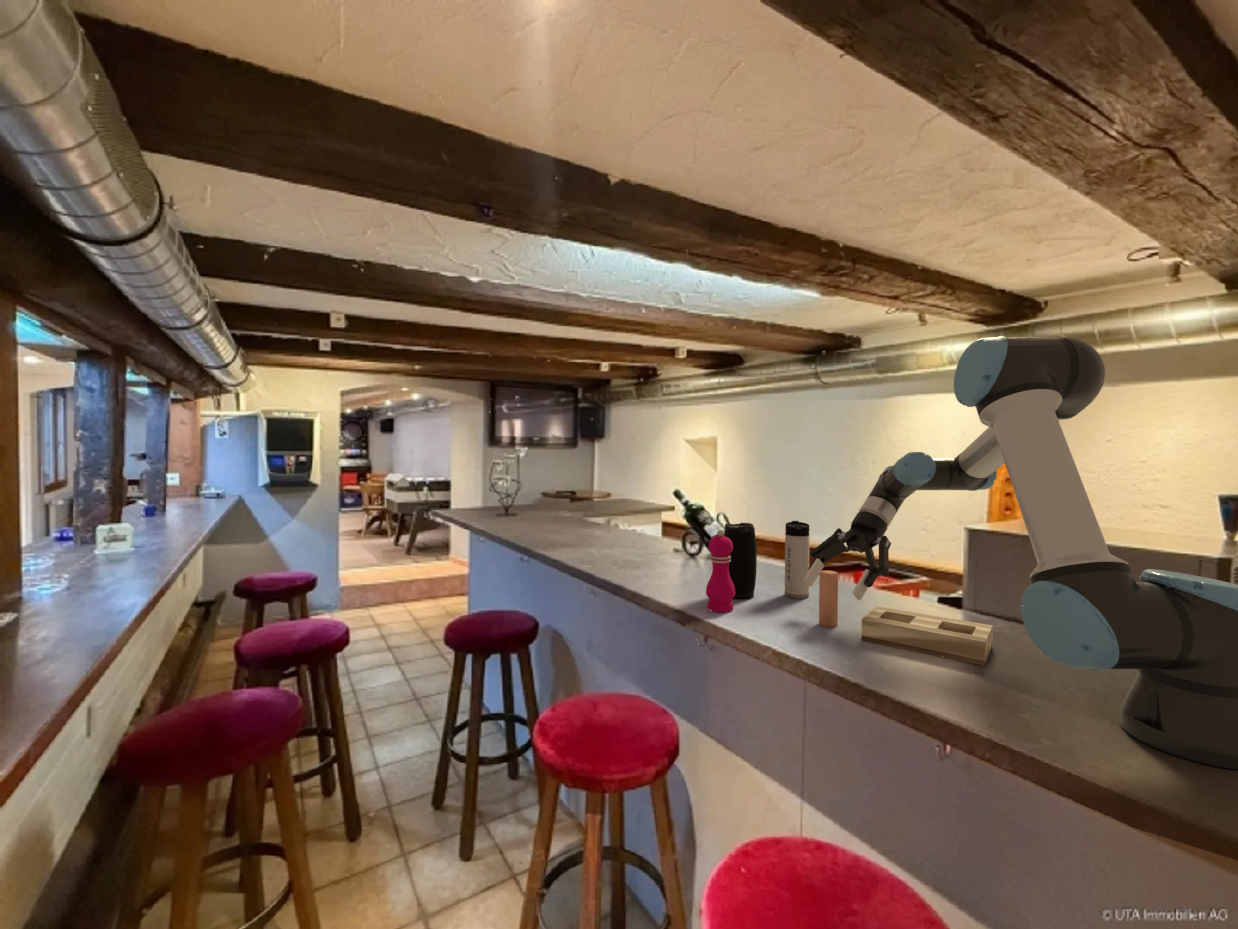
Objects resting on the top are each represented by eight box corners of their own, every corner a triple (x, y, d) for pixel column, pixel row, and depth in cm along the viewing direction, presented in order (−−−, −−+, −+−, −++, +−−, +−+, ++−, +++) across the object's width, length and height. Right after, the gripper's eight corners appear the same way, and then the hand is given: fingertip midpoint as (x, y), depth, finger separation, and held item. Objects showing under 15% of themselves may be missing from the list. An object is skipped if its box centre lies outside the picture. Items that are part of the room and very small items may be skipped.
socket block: (984, 665, 106) (985, 642, 106) (861, 640, 120) (861, 619, 120) (992, 647, 116) (992, 625, 115) (877, 625, 129) (877, 606, 129)
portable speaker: (715, 596, 154) (715, 524, 154) (737, 590, 161) (737, 521, 160) (741, 602, 148) (741, 527, 147) (762, 596, 154) (763, 524, 153)
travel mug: (805, 592, 158) (806, 520, 157) (811, 599, 151) (812, 524, 150) (782, 592, 158) (783, 520, 157) (787, 598, 152) (787, 524, 151)
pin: (834, 628, 128) (834, 575, 127) (816, 624, 130) (816, 572, 130) (839, 624, 131) (840, 572, 130) (822, 620, 133) (823, 569, 133)
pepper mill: (735, 614, 138) (735, 532, 137) (705, 612, 139) (705, 531, 139) (735, 606, 145) (735, 528, 144) (706, 604, 146) (706, 527, 146)
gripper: (929, 537, 129) (887, 613, 122) (836, 523, 151) (796, 587, 144) (915, 515, 126) (871, 592, 119) (823, 504, 148) (781, 569, 141)
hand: (830, 589), depth 131 cm, fingers open, 13 cm apart
